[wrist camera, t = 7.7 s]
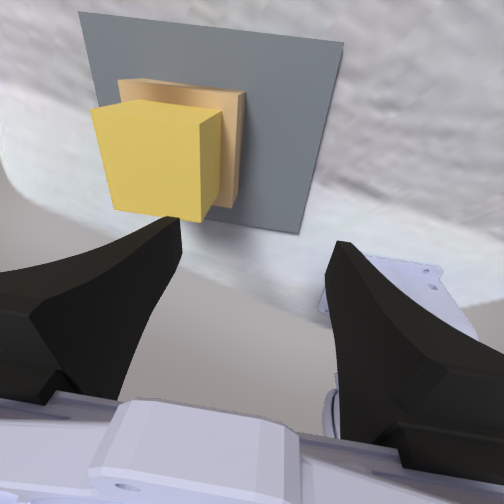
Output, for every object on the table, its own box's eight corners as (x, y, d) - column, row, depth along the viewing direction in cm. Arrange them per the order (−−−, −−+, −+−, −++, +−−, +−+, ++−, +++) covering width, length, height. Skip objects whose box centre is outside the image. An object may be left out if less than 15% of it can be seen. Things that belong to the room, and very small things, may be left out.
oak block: (245, 91, 17) (238, 95, 14) (238, 192, 21) (231, 208, 18) (142, 78, 17) (117, 79, 15) (155, 180, 21) (137, 194, 19)
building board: (342, 43, 15) (344, 42, 15) (297, 229, 23) (298, 233, 22) (84, 13, 16) (78, 11, 15) (124, 204, 24) (121, 206, 23)
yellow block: (221, 110, 15) (199, 124, 11) (219, 191, 18) (201, 222, 14) (138, 99, 15) (89, 109, 11) (149, 181, 18) (114, 209, 14)
